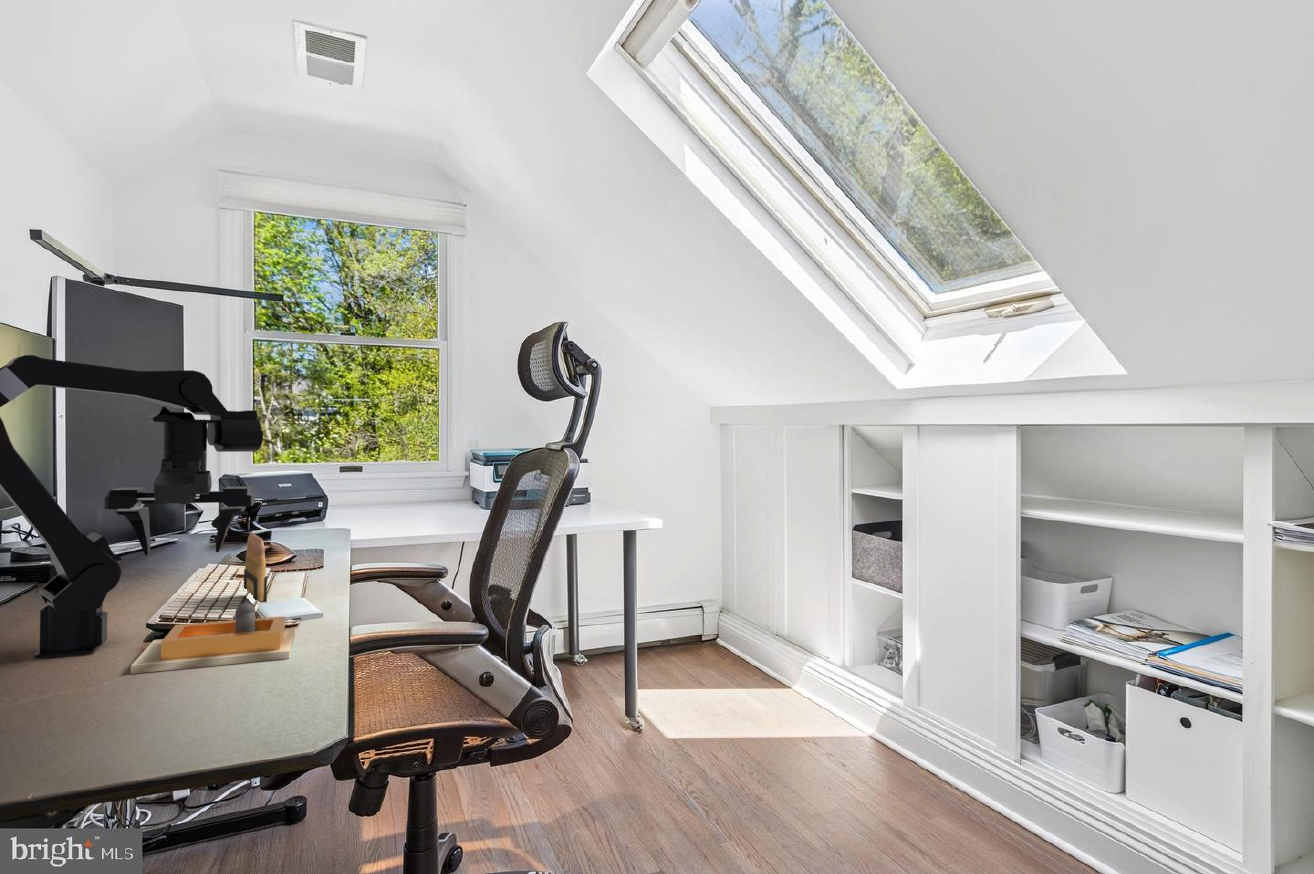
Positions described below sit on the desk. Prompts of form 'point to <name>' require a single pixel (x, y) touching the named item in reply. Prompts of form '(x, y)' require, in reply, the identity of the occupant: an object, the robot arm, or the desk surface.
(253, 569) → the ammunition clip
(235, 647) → the shallow wooden tray
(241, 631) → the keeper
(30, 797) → the desk surface
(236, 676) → the desk surface
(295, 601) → the hard drive
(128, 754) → the desk surface
